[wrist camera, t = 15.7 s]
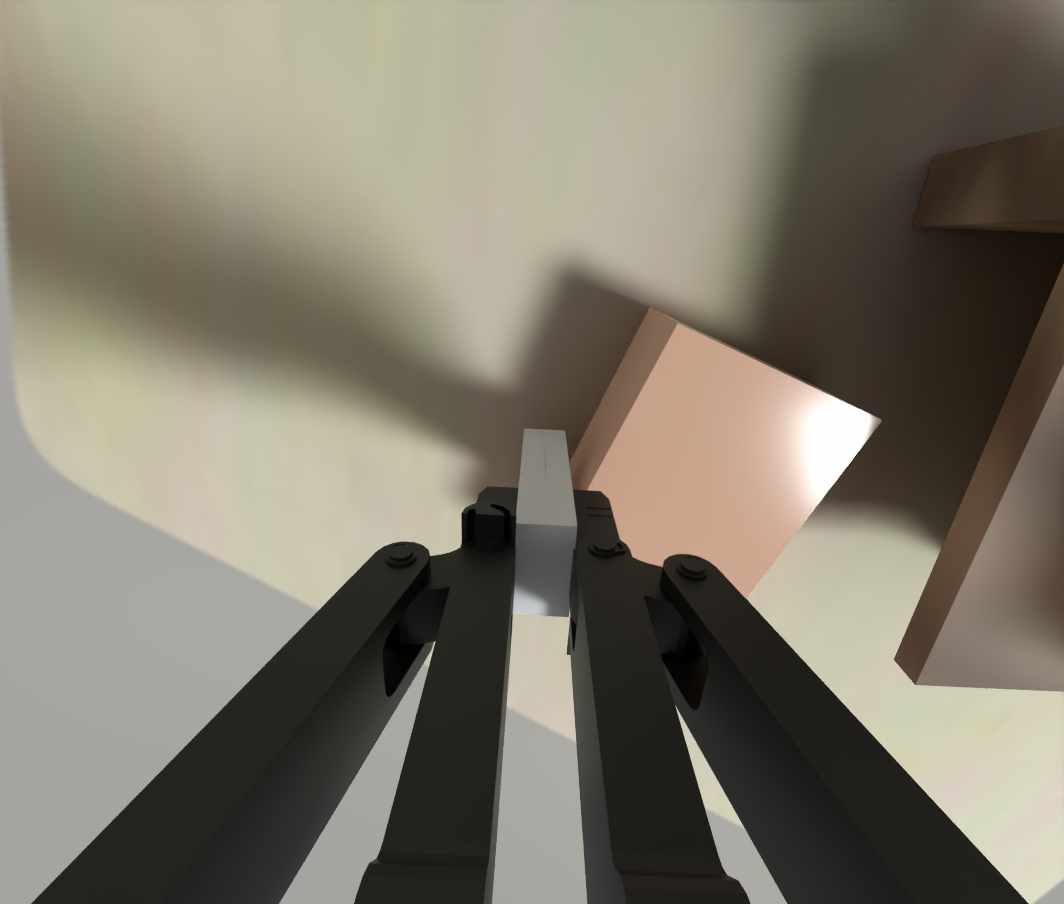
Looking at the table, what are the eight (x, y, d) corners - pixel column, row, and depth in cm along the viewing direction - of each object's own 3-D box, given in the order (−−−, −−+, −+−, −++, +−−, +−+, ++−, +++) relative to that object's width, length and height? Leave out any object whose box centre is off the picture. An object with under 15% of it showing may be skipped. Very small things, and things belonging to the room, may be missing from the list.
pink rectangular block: (534, 528, 21) (533, 588, 17) (648, 306, 17) (677, 322, 14) (677, 583, 22) (705, 652, 18) (813, 384, 18) (882, 420, 15)
